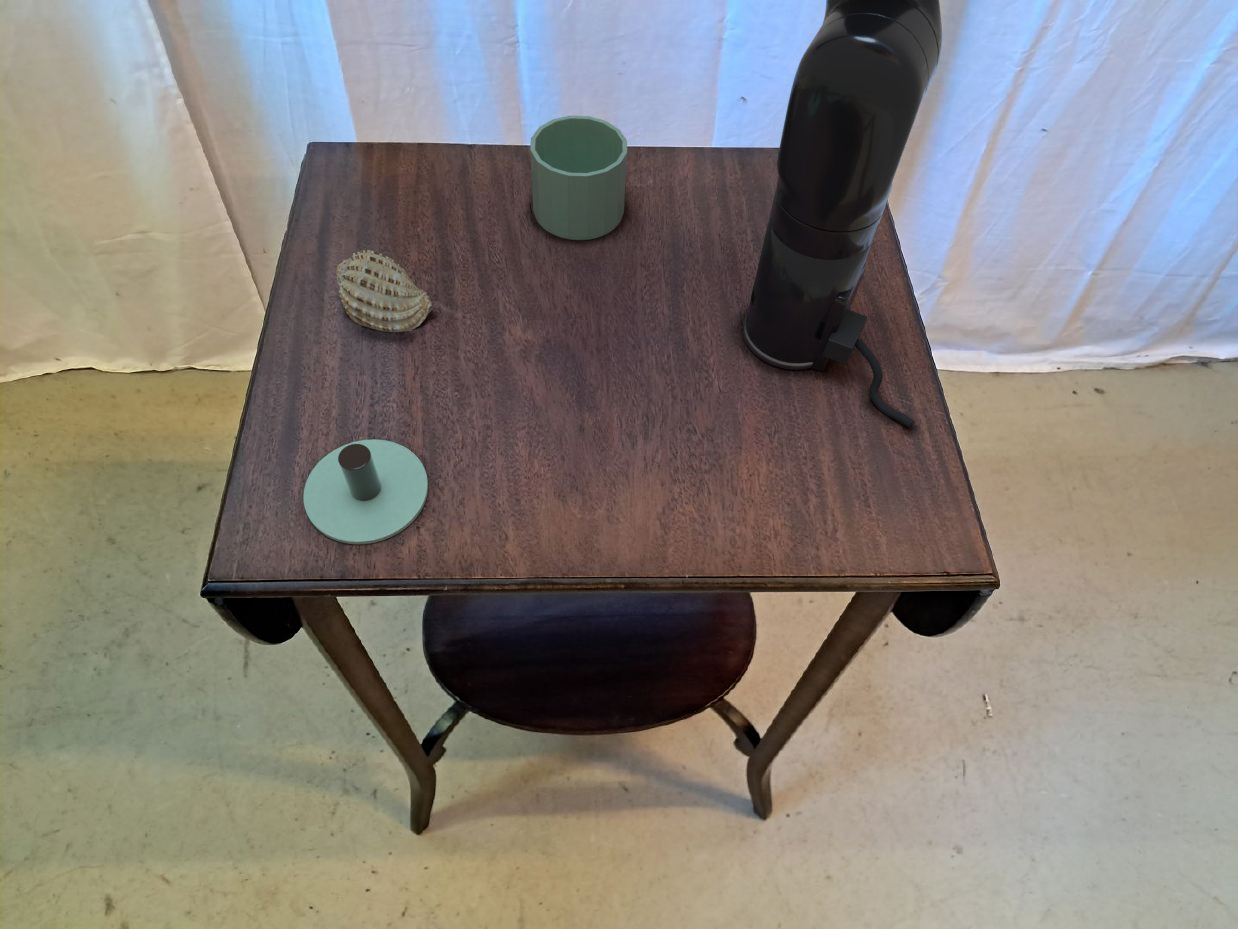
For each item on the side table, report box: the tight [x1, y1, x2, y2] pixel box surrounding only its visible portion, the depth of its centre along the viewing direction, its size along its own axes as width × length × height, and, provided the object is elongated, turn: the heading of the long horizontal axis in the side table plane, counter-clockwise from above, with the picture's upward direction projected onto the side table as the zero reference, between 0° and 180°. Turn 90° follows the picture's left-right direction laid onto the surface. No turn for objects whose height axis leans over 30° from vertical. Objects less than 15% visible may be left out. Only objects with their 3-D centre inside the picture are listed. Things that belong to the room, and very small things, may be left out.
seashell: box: [335, 249, 434, 333], centre depth 87 cm, size 8×6×10 cm
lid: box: [302, 438, 429, 545], centre depth 74 cm, size 10×10×6 cm
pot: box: [529, 115, 628, 241], centre depth 95 cm, size 10×10×8 cm
